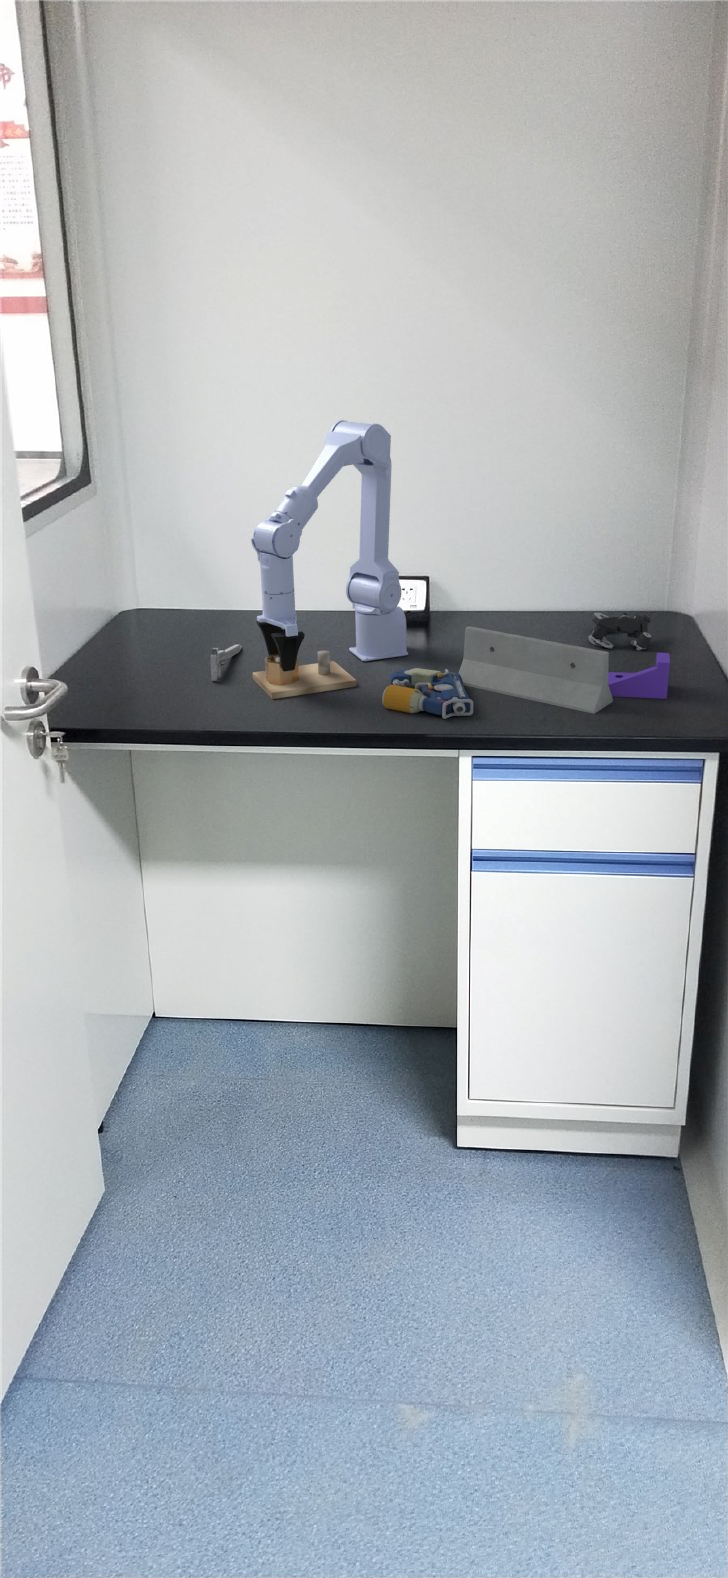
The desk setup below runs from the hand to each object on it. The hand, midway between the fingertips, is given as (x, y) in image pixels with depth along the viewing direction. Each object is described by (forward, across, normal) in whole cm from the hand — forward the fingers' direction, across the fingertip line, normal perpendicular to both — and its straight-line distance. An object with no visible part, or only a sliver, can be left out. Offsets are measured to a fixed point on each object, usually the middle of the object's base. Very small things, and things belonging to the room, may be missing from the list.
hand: (282, 664), depth 212 cm
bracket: (+5, +28, +56) cm, 62 cm away
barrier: (+5, +22, +39) cm, 45 cm away
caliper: (+5, -16, -6) cm, 18 cm away
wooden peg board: (+4, 0, +4) cm, 6 cm away
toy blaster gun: (+5, +18, +20) cm, 27 cm away
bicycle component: (+5, +3, +70) cm, 70 cm away
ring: (+3, 0, 0) cm, 3 cm away
